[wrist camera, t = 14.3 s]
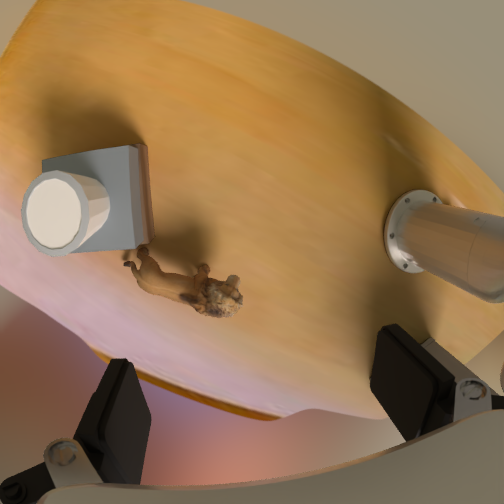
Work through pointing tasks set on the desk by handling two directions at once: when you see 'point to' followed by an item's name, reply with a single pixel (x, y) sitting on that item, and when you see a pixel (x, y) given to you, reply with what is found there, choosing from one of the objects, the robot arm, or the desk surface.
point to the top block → (119, 190)
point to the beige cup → (63, 211)
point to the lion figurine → (189, 287)
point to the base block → (145, 193)
